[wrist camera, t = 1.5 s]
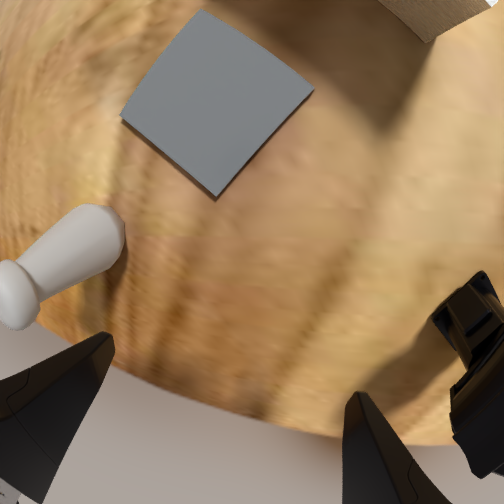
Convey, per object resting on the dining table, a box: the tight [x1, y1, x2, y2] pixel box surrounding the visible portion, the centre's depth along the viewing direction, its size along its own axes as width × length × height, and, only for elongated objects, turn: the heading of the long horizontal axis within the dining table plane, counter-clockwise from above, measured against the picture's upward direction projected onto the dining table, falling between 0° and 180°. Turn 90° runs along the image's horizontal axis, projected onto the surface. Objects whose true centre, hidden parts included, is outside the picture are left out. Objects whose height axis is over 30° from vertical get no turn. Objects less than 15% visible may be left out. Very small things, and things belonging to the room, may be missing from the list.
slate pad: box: [120, 9, 315, 197], centre depth 18 cm, size 10×10×1 cm
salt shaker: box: [0, 203, 125, 331], centre depth 17 cm, size 6×6×13 cm
